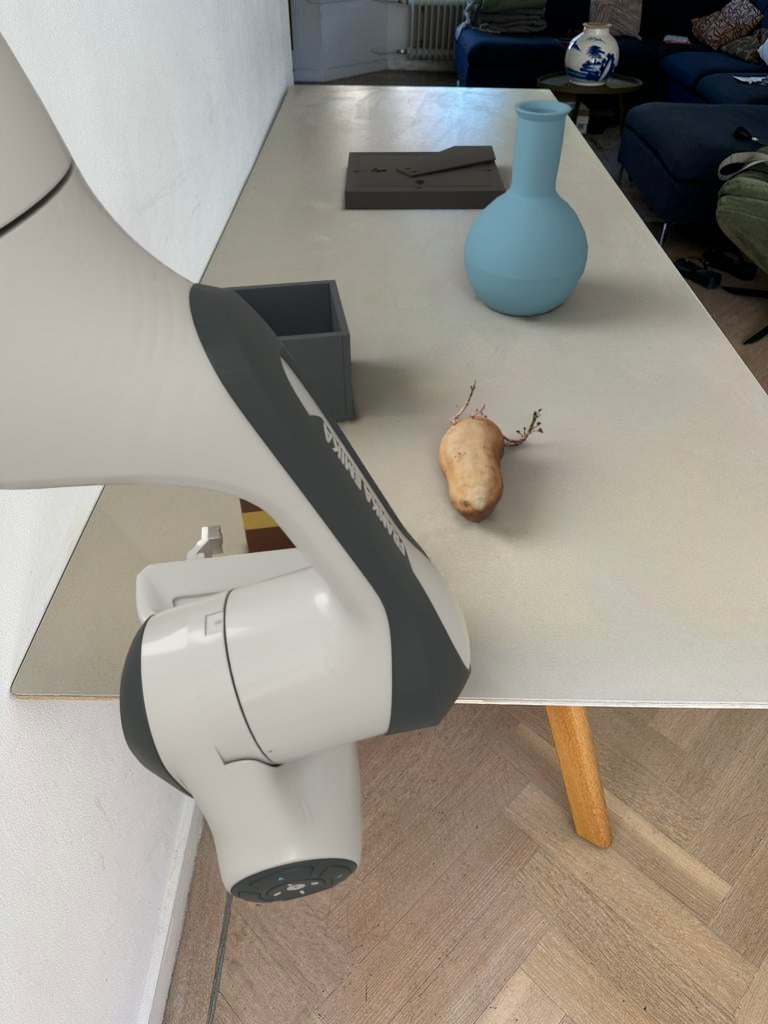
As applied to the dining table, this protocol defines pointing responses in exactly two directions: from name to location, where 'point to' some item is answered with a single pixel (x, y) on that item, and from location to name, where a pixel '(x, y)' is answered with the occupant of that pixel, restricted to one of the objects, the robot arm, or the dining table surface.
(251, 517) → the chocolate box
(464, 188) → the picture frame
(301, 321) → the gray open box
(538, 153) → the vase
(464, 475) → the vegetable
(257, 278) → the dining table surface
